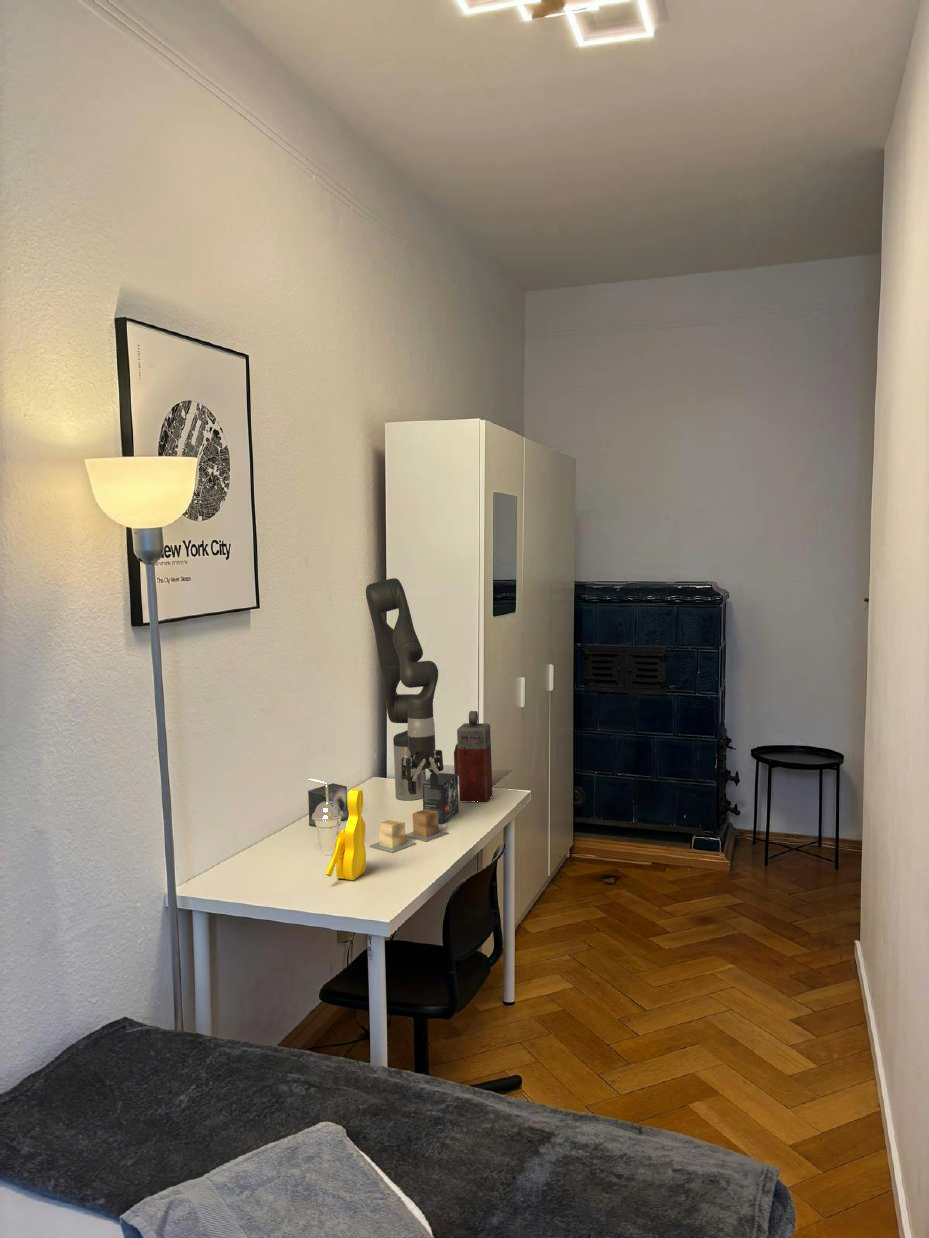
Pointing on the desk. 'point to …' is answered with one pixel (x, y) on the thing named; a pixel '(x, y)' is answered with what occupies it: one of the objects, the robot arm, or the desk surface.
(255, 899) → the desk surface
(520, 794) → the desk surface
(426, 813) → the walnut block
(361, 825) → the figure statuette
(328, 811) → the cup with straw
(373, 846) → the code tile
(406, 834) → the code tile
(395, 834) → the maple block
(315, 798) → the small box
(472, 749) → the red grey bottle
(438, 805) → the small box
